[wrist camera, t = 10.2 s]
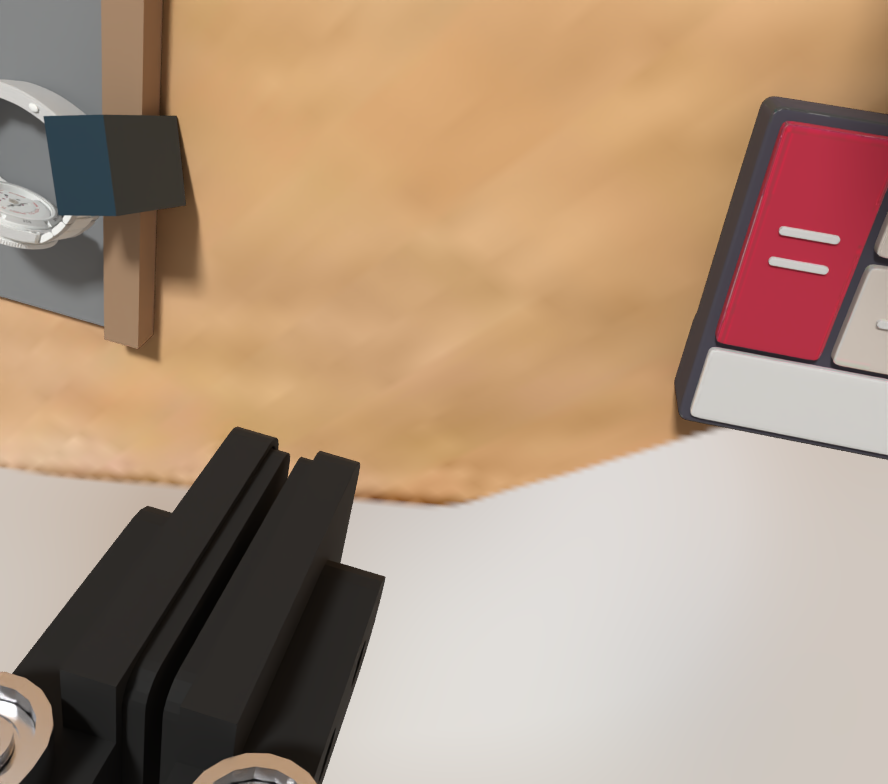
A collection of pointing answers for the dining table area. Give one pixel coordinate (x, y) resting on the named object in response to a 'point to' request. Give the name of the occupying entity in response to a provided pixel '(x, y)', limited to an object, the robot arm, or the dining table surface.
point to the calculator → (799, 286)
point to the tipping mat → (28, 163)
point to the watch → (90, 169)
